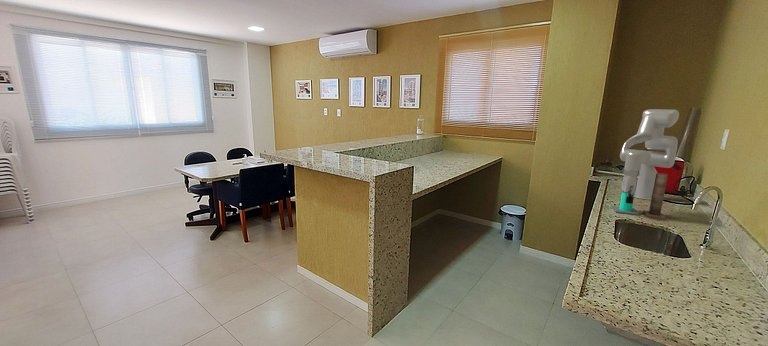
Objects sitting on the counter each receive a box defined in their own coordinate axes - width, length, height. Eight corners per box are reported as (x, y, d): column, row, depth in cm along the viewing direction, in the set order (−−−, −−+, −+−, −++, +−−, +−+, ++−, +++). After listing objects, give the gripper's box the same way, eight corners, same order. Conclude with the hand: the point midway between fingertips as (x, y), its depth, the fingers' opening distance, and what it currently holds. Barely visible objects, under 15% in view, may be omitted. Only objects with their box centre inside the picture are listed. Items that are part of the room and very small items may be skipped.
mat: (612, 207, 196) (612, 205, 195) (633, 209, 191) (634, 208, 191) (615, 212, 186) (616, 211, 186) (638, 215, 181) (639, 214, 181)
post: (643, 212, 186) (650, 172, 180) (660, 214, 182) (668, 173, 177) (647, 217, 179) (655, 175, 173) (665, 219, 175) (674, 176, 170)
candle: (634, 211, 186) (637, 191, 183) (624, 211, 186) (627, 191, 183) (626, 207, 191) (630, 189, 189) (616, 207, 191) (620, 189, 189)
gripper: (620, 169, 192) (616, 195, 196) (627, 175, 177) (622, 204, 181) (635, 170, 189) (630, 197, 193) (644, 176, 174) (638, 206, 178)
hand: (626, 200), depth 187 cm, fingers open, 9 cm apart
